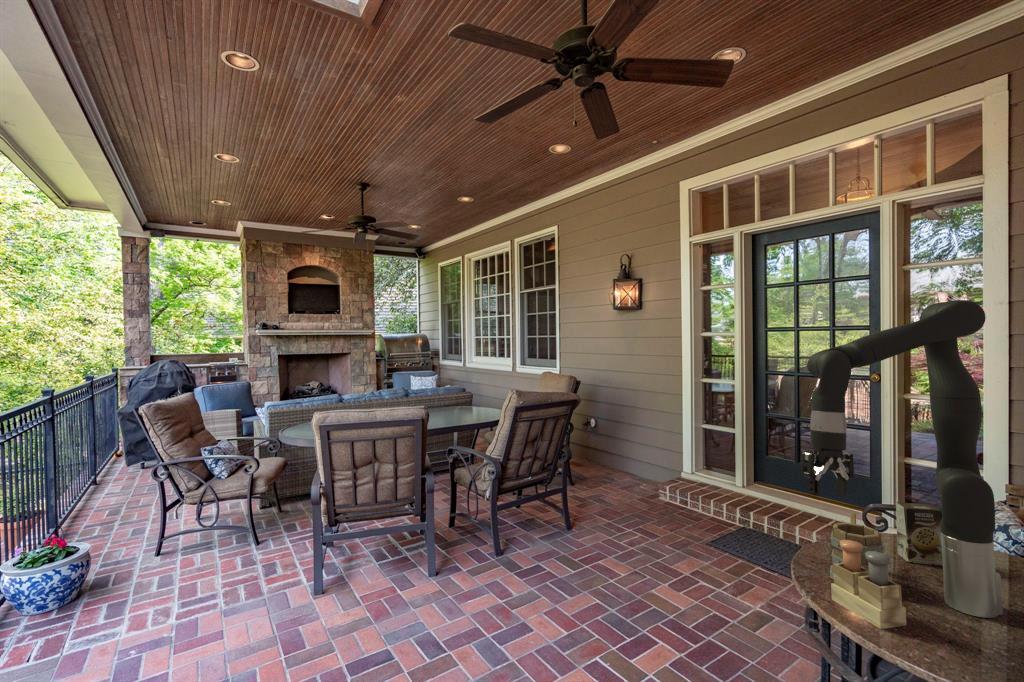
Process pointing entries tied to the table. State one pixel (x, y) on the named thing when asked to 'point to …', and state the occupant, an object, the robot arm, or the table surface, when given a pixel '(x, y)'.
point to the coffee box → (919, 533)
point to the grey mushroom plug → (878, 567)
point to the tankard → (854, 533)
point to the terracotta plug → (851, 555)
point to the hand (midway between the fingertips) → (827, 494)
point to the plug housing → (868, 597)
